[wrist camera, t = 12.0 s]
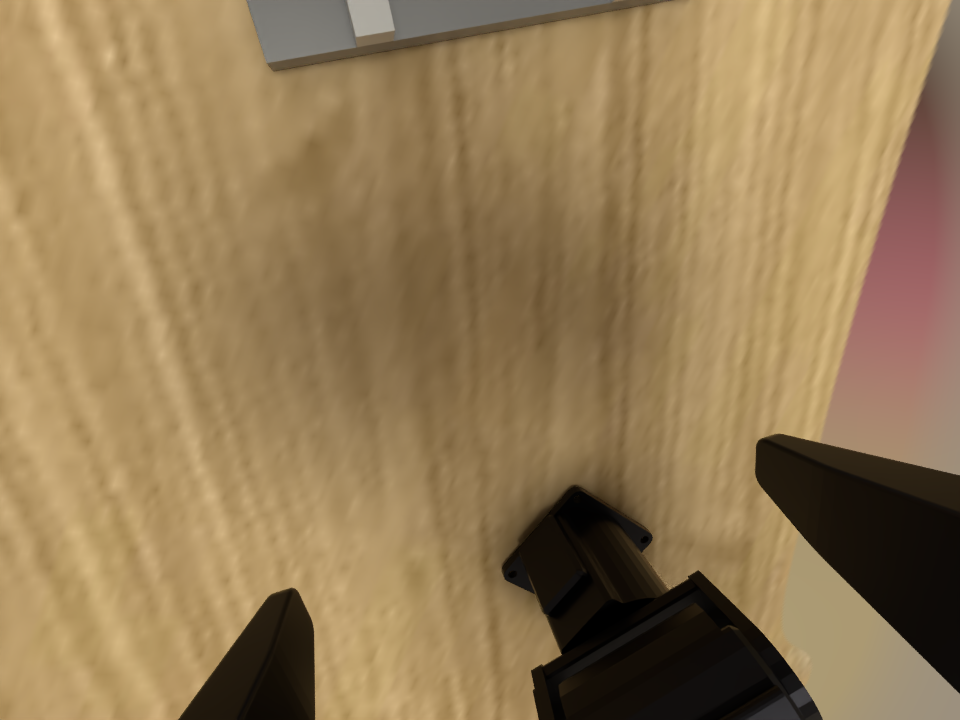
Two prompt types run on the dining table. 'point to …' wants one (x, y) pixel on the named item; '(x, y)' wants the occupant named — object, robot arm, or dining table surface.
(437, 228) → the dining table surface
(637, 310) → the dining table surface
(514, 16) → the track
